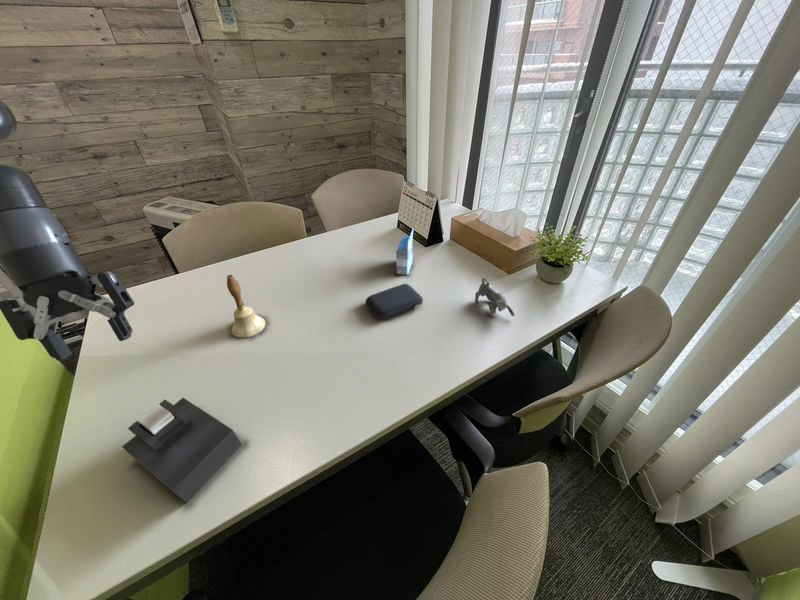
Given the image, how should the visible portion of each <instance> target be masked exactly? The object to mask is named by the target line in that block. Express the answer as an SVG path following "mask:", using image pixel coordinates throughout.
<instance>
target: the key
mask: <svg viewBox="0 0 800 600" xmlns="http://www.w3.org/2000/svg"><path fill="white" fill-rule="evenodd" d="M173 419H175V418H174V417H173V415H172V414H171V413H170V412H169V411H167V410H166V409H164V408H163V407H161V406H160V405H158V404H157V405H155V406H154V407H153V408H152V409H150V410H148V412H146V413H145V414H144V415H143V416H141V417H140V418H139V419H137V421H138V422H139V423H140V424H141V425H142V426H143V427H144V428H146V429H147V430H148V431H149V432H151V433H152V434H153V435H156V434H157V433H158V432H159V431H160V430H162V429H163V428H164V427H165V426H166V425H167V424H169V423H170V422H171V421H172V420H173Z"/></svg>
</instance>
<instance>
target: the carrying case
mask: <svg viewBox="0 0 800 600" xmlns="http://www.w3.org/2000/svg"><path fill="white" fill-rule="evenodd" d="M423 299H424V298H423V296H421V294H420V293H419V292H417V290H416V289H414V288H413V287H412V286H411V285H410V284H408V283H402V284H400V285H396V286H394V287H390V288H388V289H384V290H382V291H379V292H377V293H374V294H370V295H369V296H368V297H367V298H366V299H365V305H366V306H367V307H368V308H369V309H370V311H371V312H372V313H373V314H374V316H376V318H378V319H380V320H384V319H388V318H391V317H393V316H396V315H398V314H401V313H403V312H406V311H409V310H411V309H412V310H413V311H415V310H416V309H418V308H419V307H421V305H422V304H423V301H424V300H423Z"/></svg>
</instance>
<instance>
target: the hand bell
mask: <svg viewBox="0 0 800 600" xmlns="http://www.w3.org/2000/svg"><path fill="white" fill-rule="evenodd" d="M226 287H227V290H228V292H229V294H230V295H231V297H233V299H234V301H235V305H236V309H234V311H233V318H234V323H233V324H232V326H231V334H232V335H233V336H234V337H236V338H238V339H239V338H240V339H245V338H246V339H247V338H251V337H254V336H256V335H258V334H259V333H261V332H262V331H263V330H264V328H265V326H266V320H265V319H264V318H263V317H262V316H259V315H257V314H256V313H255V312H254V310H253V308H252V307H251V306H248V305H245V303H244V300H243V298H242V290H241V285H240V283H239V282H238V280H237V278H235V277H234V275H233V274H228V275H227V276H226Z"/></svg>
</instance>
